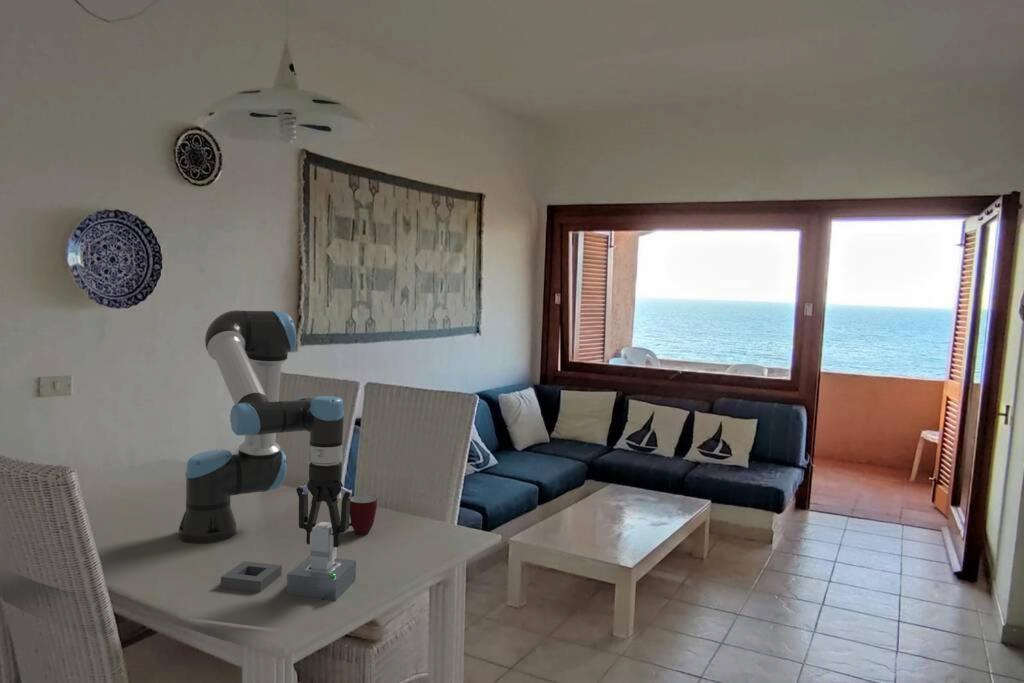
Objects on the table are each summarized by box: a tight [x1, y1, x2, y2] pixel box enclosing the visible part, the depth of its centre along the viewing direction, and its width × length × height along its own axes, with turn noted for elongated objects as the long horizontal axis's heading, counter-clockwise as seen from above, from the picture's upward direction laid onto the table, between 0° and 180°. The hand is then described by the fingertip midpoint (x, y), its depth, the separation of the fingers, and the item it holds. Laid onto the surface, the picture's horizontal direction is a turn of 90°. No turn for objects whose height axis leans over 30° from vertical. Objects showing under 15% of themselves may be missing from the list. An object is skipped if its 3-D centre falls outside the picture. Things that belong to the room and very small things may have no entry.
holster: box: [220, 560, 283, 593], centre depth 165 cm, size 10×10×3 cm
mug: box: [349, 494, 378, 535], centre depth 203 cm, size 10×8×10 cm
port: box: [286, 556, 357, 602], centre depth 164 cm, size 12×12×6 cm
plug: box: [311, 521, 334, 572], centre depth 164 cm, size 4×4×13 cm
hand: (323, 558), depth 164 cm, fingers closed on plug, 4 cm apart
